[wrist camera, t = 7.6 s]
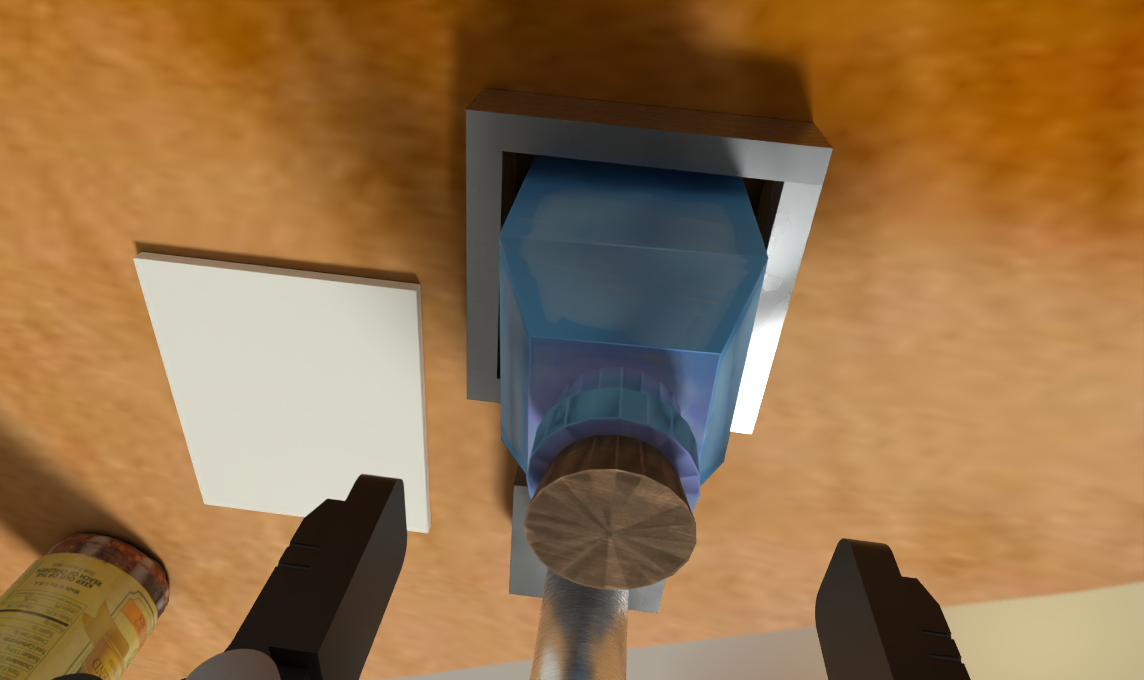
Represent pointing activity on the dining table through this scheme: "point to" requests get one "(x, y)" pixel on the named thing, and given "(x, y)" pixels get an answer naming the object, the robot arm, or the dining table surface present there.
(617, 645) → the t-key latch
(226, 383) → the pad
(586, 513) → the perfume bottle
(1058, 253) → the dining table surface
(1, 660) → the sauce bottle
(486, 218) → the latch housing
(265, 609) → the robot arm
